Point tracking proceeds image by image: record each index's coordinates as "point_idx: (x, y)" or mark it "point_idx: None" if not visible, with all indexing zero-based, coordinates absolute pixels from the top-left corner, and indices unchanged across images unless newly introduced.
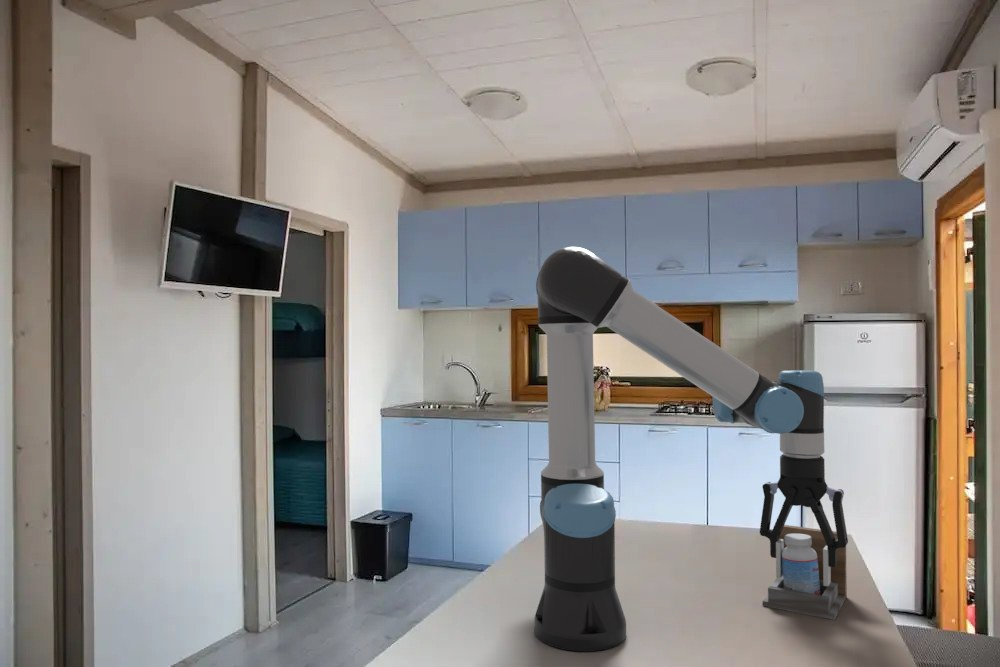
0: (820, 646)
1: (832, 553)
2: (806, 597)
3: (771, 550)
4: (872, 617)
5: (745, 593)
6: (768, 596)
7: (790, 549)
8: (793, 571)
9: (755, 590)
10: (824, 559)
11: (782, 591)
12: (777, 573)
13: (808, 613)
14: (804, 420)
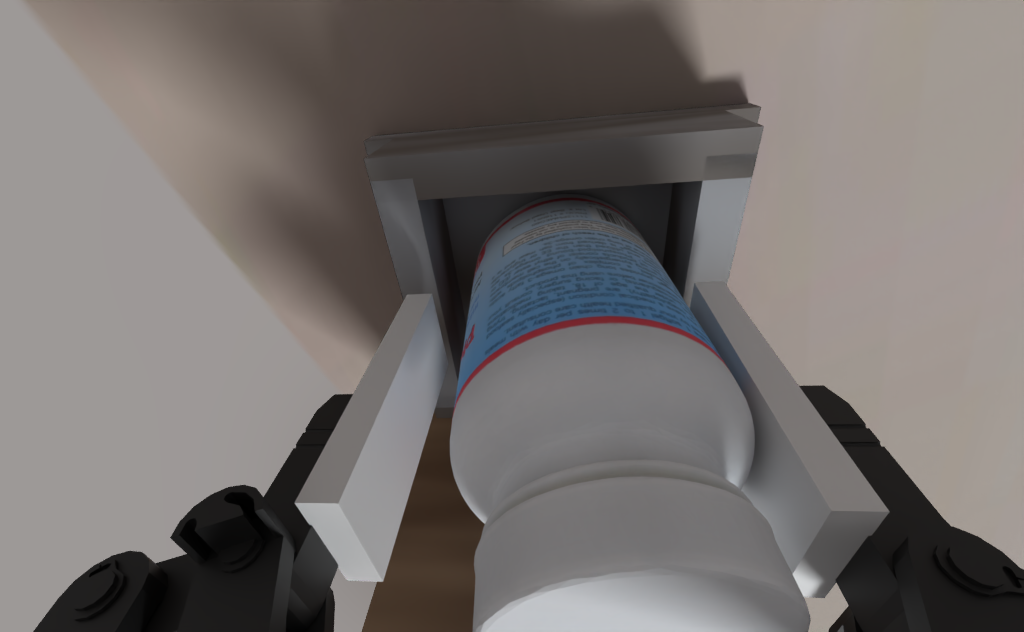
0: None
1: (292, 487)
2: (495, 144)
3: (861, 435)
4: (284, 271)
5: (846, 239)
6: (736, 115)
7: (679, 441)
8: (607, 269)
9: (790, 304)
10: (365, 416)
11: (654, 135)
12: (724, 295)
13: (495, 127)
14: None
